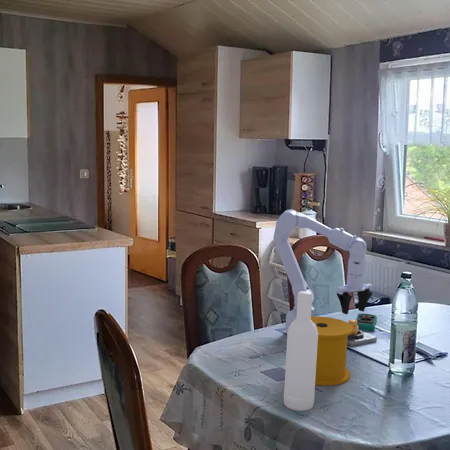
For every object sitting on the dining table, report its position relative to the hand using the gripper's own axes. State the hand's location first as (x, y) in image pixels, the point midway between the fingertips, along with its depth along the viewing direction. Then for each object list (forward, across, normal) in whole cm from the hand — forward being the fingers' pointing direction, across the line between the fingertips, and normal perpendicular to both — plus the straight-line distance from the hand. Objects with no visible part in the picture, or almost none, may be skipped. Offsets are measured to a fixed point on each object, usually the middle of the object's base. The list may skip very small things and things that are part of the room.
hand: (353, 312), depth 215 cm
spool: (+10, -31, -19) cm, 38 cm away
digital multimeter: (+10, +16, +10) cm, 21 cm away
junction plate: (+10, 0, 0) cm, 10 cm away
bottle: (+10, -50, -33) cm, 61 cm away
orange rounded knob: (+8, 0, 0) cm, 8 cm away
